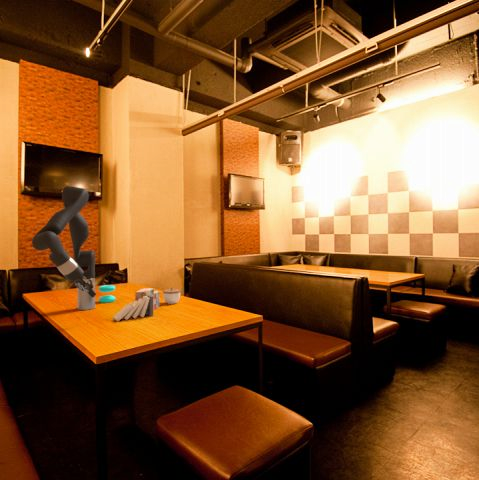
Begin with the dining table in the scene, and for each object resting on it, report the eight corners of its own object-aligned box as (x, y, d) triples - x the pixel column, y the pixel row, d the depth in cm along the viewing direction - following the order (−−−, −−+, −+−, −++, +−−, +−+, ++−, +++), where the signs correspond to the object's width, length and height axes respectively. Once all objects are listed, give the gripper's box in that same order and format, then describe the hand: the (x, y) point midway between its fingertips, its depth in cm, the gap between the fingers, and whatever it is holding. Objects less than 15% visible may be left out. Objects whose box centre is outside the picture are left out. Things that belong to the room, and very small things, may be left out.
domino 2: (121, 316, 165) (134, 300, 170) (123, 318, 166) (136, 302, 170) (124, 318, 161) (138, 301, 166) (127, 320, 162) (140, 303, 167)
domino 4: (137, 314, 171) (143, 295, 172) (140, 314, 172) (146, 296, 173) (140, 316, 167) (147, 297, 168) (143, 317, 168) (149, 298, 169)
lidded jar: (160, 302, 206) (160, 287, 206) (175, 300, 212) (175, 286, 212) (167, 305, 197) (167, 289, 197) (183, 303, 204) (183, 288, 204)
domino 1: (112, 317, 163) (128, 303, 168) (114, 319, 163) (130, 305, 168) (116, 319, 159) (132, 304, 164) (118, 321, 159) (134, 306, 164)
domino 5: (147, 314, 174) (147, 295, 174) (150, 314, 174) (150, 295, 174) (150, 316, 169) (150, 296, 169) (153, 316, 170) (153, 296, 170)
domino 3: (129, 315, 168) (139, 297, 171) (131, 316, 169) (141, 299, 172) (133, 317, 164) (143, 299, 167) (135, 318, 165) (145, 300, 168)
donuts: (118, 284, 215) (110, 287, 205) (118, 300, 215) (110, 303, 205) (103, 284, 217) (95, 287, 207) (104, 300, 217) (95, 302, 207)
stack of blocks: (149, 306, 195) (149, 285, 195) (159, 306, 194) (159, 285, 194) (135, 315, 173) (135, 291, 173) (146, 315, 173) (146, 291, 173)
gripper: (83, 262, 148) (107, 290, 156) (69, 264, 156) (92, 290, 164) (71, 274, 143) (96, 302, 151) (56, 275, 151) (81, 301, 159)
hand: (94, 295), depth 157 cm, fingers closed
